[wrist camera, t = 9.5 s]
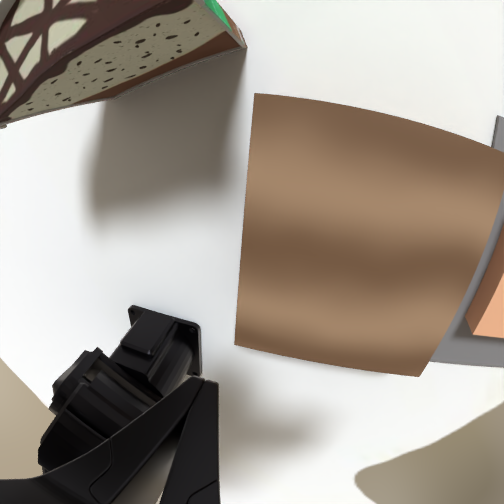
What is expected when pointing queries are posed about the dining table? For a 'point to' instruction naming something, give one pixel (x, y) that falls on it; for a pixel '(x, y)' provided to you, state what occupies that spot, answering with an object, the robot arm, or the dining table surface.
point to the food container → (101, 48)
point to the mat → (459, 333)
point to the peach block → (490, 297)
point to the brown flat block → (359, 233)
